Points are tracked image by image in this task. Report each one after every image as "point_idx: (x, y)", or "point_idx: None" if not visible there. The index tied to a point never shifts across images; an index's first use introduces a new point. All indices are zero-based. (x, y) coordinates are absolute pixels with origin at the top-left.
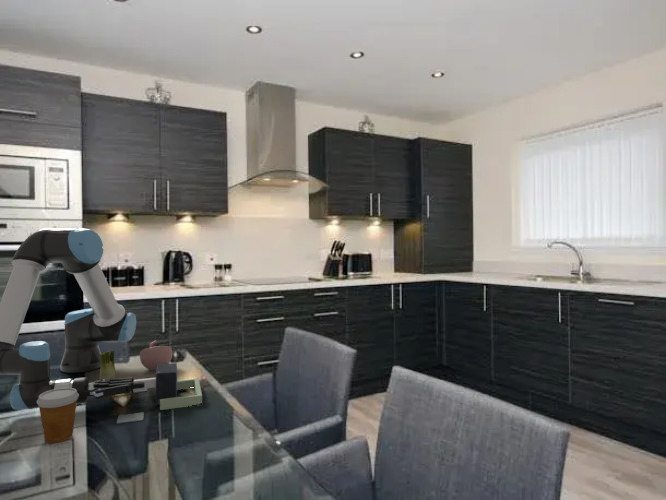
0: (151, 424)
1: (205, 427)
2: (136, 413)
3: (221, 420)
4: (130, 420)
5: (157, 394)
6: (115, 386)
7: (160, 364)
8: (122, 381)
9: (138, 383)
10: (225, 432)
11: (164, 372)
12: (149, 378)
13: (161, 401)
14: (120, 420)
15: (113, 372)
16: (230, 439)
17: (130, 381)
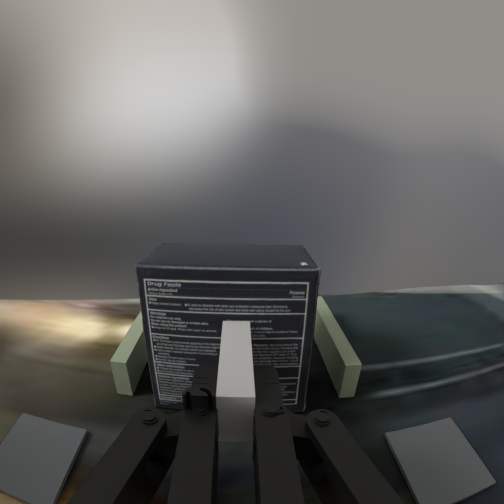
0: (467, 393)
1: (446, 315)
2: (399, 454)
3: (409, 302)
4: (467, 449)
5: (308, 368)
6: (364, 493)
7: (153, 259)
8: (213, 465)
9: (270, 386)
10: (454, 298)
11: (309, 256)
12: (226, 337)
13: (358, 365)
14: (474, 480)
15: None
16: (473, 295)
17: (215, 422)
